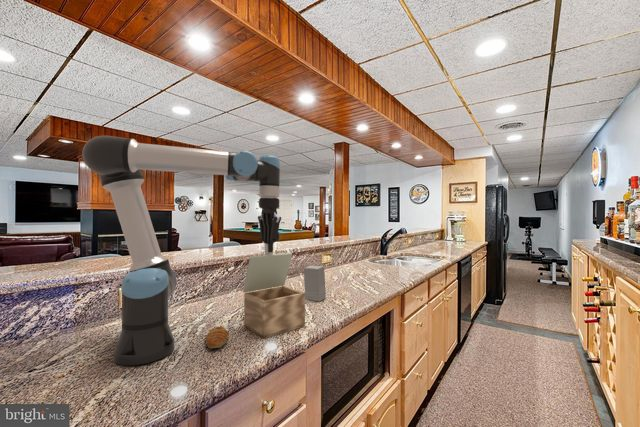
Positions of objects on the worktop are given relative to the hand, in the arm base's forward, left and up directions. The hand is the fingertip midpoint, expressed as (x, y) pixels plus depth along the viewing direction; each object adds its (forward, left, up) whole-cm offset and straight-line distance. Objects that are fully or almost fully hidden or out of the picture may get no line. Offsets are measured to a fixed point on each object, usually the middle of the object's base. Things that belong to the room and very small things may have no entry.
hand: (268, 260), depth 111 cm
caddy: (0, -5, -23) cm, 24 cm away
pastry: (-25, -6, -24) cm, 35 cm away
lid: (0, +2, -11) cm, 12 cm away
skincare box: (+33, +12, -24) cm, 42 cm away
